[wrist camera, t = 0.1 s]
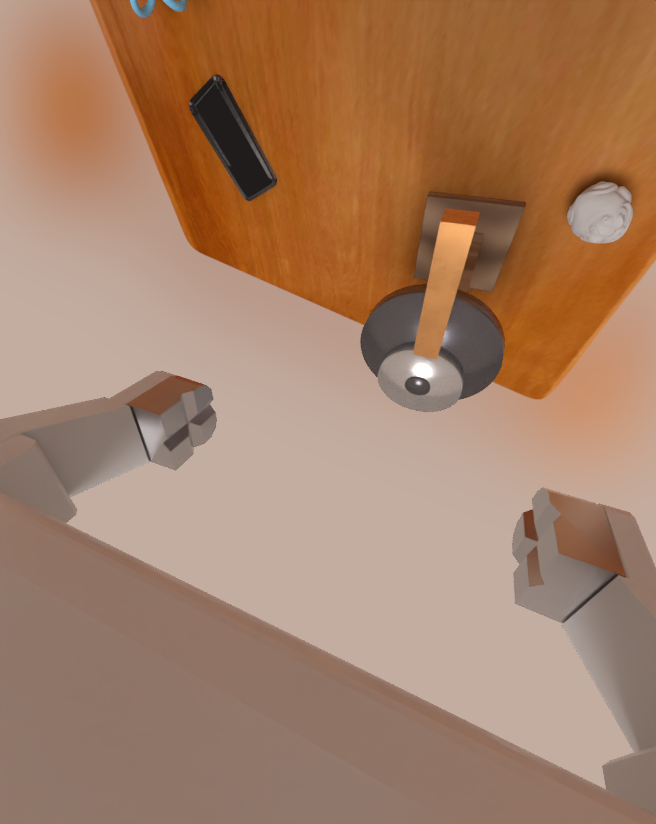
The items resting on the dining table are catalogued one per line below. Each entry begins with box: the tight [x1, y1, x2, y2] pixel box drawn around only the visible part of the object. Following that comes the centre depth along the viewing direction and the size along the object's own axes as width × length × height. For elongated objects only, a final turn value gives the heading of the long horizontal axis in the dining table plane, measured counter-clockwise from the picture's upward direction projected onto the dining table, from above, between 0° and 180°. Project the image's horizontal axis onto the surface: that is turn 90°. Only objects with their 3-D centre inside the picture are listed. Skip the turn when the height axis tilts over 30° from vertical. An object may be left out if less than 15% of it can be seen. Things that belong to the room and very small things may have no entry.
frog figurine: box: [567, 181, 633, 243], centre depth 41 cm, size 6×7×7 cm
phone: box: [189, 75, 277, 201], centre depth 55 cm, size 8×1×15 cm
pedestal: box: [361, 192, 526, 399], centre depth 46 cm, size 16×16×26 cm
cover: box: [378, 208, 480, 412], centre depth 36 cm, size 24×10×2 cm, turn 3°
